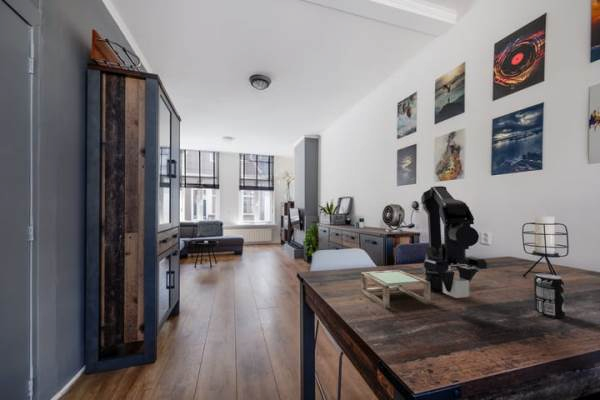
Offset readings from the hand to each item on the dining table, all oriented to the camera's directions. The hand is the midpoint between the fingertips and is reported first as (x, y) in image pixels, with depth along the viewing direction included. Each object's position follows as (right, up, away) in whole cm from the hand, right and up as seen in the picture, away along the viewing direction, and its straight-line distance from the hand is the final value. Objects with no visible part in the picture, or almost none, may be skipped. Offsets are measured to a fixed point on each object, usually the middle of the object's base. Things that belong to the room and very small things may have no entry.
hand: (455, 291), depth 77 cm
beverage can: (+29, -7, -1) cm, 30 cm away
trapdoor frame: (-14, -8, +14) cm, 21 cm away
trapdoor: (-14, -1, +14) cm, 20 cm away
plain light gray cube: (0, -1, 0) cm, 1 cm away
